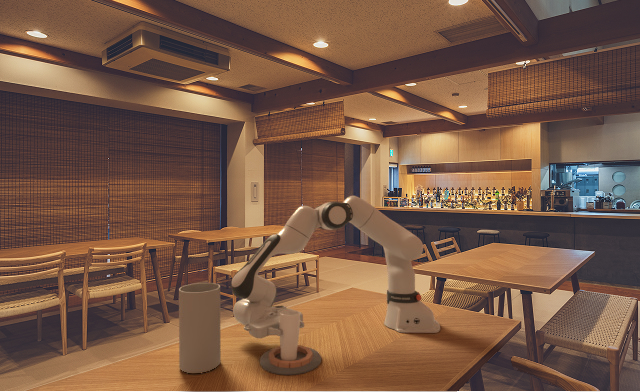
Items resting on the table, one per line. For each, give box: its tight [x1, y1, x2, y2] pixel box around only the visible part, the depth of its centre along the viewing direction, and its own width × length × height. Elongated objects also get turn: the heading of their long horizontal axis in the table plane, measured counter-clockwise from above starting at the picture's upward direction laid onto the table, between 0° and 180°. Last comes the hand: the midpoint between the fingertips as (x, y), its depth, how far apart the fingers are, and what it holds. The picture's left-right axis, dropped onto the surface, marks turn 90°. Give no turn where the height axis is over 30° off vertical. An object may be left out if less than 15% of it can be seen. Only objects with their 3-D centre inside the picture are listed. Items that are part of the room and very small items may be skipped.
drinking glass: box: [279, 309, 301, 361], centre depth 121 cm, size 7×7×15 cm
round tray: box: [259, 344, 322, 376], centre depth 122 cm, size 20×20×2 cm
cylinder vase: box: [178, 282, 222, 374], centre depth 118 cm, size 12×12×25 cm
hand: (292, 329), depth 121 cm, fingers open, 8 cm apart
